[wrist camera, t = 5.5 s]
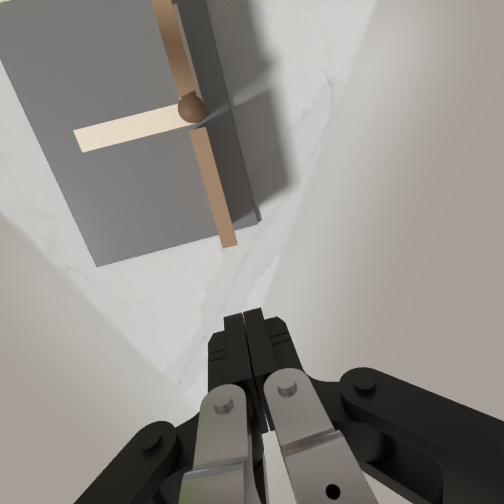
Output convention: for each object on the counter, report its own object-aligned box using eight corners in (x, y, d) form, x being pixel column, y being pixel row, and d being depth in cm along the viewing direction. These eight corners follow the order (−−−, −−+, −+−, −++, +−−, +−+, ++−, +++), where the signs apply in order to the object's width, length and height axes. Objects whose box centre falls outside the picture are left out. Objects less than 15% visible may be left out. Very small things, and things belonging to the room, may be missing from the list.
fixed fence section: (153, 8, 25) (137, -26, 19) (176, 2, 25) (167, -33, 19) (187, 125, 28) (182, 126, 23) (208, 120, 28) (207, 119, 23)
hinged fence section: (192, 129, 28) (188, 131, 23) (205, 126, 28) (205, 126, 23) (220, 227, 31) (222, 248, 26) (232, 224, 31) (237, 244, 26)
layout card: (-20, 10, 24) (-24, 8, 24) (194, -41, 24) (193, -44, 24) (97, 265, 32) (96, 267, 32) (257, 223, 32) (258, 224, 32)
